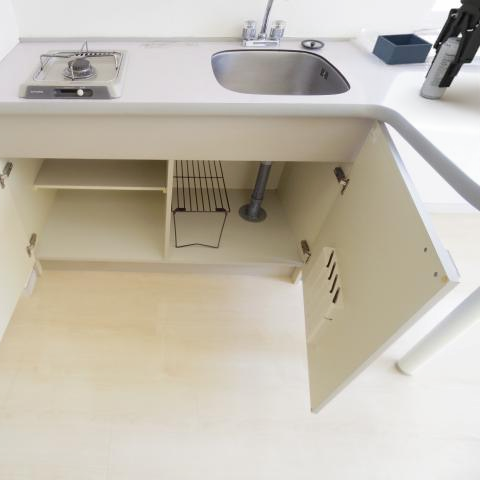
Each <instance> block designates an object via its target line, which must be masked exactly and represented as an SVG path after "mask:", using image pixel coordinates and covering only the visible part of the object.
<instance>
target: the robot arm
mask: <svg viewBox="0 0 480 480" xmlns="http://www.w3.org/2000/svg"><path fill="white" fill-rule="evenodd" d="M460 4H461V5H460V7H456V8H455V7H454V8H451V9H449V12H448V15H447V18H446V20H445V22H444V24H443V26H442V28H441V30H440V32H439V34H438V36H437V38H436V40H435V42H434V44H433V45H432V49H433V50H435V54H434V56H433V59H432V61H431V63H430V67H429V68H428V70H427V73H426V75H425V77H424V78H425V79H426V77H427V75H428V73H429V71H430V69H431V67H432V65H433V63H434V61H435V59H436V57H437V55H438V53H439V51H440V49H441V47H442V45H443V44H444V43H445V42H446V41H447V40H448V38H450V37H460V35H461V40H460V43H459V47H458V50H457V53H456V56H455V59H454V61H453V62H451V63H450V65H449V67H448V68H447V70H446V72H445V74H444V76H443V78H442V80H441V82H440V84H439V86H438V87H439V88H445V87H447V88H451V87H450V86H451V85H452V83H453V82H454V80H455V78H456V77H457V76H458V74H459V72H460V71H461V69H462V67H463V65H467V64H471V63H473V60H474V59H475V56H476V54H477V53H478V51H479V49H480V0H460ZM460 58H461V59H460Z"/></svg>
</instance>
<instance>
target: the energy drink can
mask: <svg viewBox="0 0 480 480" xmlns="http://www.w3.org/2000/svg"><path fill="white" fill-rule="evenodd" d="M461 37H462V36H461ZM461 37H460V36H458V37H450V38H448V40H447V41H446V42H445V43H444V44H443V45H442V47H441V49H440V51H439V53H438V55H437V57H436V59H435V61H434V63H433V65H432V67H431V69H430V71H429V73H428V72H427V73H428V75H427V74H426V75H427V77H426V76H425V77H426V78H425V79H424V82H423V83H422V86H421V88H420V90H419V92H420V96H421V97H423V98H424V99H428V100H429V99H430V100H437V99H439V98H440V97H442V96H444V94H445V92H446V90H447V89H448V87H445V88H439V87H438V86H439V84H440V82H441V80H442V78H443V76H444V74H445V72H446V70H447V68H448V67H449V65H450V63H451V62H453V61H454V59H455V56H456V53H457V50H458V47H459V43H460V40H461ZM460 59H461V58H460Z"/></svg>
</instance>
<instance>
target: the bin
mask: <svg viewBox="0 0 480 480" xmlns="http://www.w3.org/2000/svg"><path fill="white" fill-rule="evenodd" d="M433 46H434V44H433V43H432V42H429V41H427V40H426V39H424V38H422V37H420V36H418V35H417V34H416V33H399V34H382V35H381V34H380V35H378V36H377V39H376V41H375V44H374V47H373V49H372V54H373V55H374V56H376V58H378V59H380V60H381V61H383V62H384V63H385V64H387V65H406V64H421V63H425V62H426V60H427V58H428V56H429V54H430V52H431V50H432V48H433Z"/></svg>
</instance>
